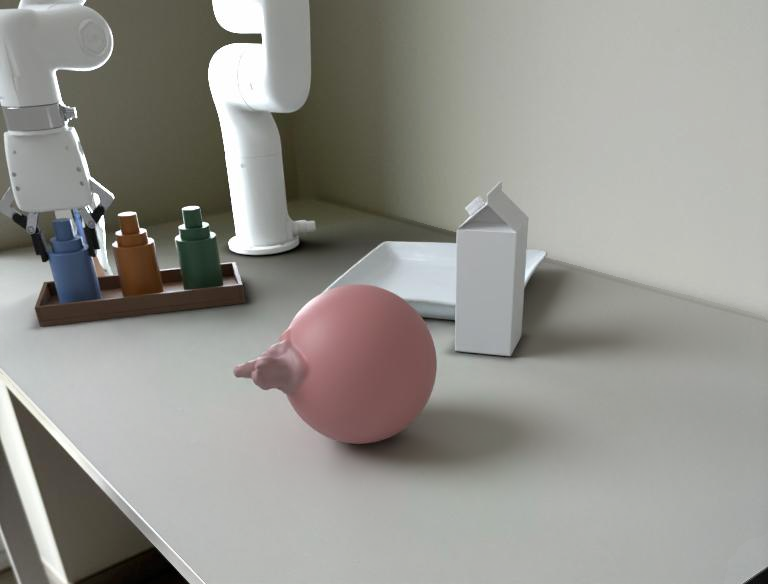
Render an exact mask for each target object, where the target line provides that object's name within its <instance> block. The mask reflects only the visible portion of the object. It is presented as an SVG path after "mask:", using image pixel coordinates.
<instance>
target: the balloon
mask: <svg viewBox="0 0 768 584" xmlns="http://www.w3.org/2000/svg"><path fill="white" fill-rule="evenodd" d="M321 293H322V292H321ZM321 293H319V294H318V295H316V296H314V297H313V298H312V299H311V300H309V301H308V302H307V303H306V304H305V305H304V306H303V307H302V308H301V309H300V310H299V311H298V312H297V314H295V316H294V317H293V319H292V320H291V322H290V324H288V325H289V326H288V327H287V329H286V330H284V332H282V334H281V336H280V338H279V341H278V342H277V343H274V344H273V345H271V346H270V347H269V348H268V349H267V350H265V351H263V352H262V353H261V354H260V355H259V356H258V357H257V358H255V359H252V360H250V361H249V360H248V361H246V362H244V363H242V364H238V365H235V367H234V368H233V370H232V373H233V375H234V376H235V377H236V378H243V379H250V380H252V382H253V384H254V385H255V386H257V387H258V388H260V389H261V390H264V391H269V390H272V389H274V390H275V389H276V390H279V391H281V392H282V393H283V394H284V395H286V398H287V400H288V402H289V404H290V405H291V407H292V409H293V411H295V413H296V414H297V416H298V417H299V418H300V419H301V420H302V421H303V422H304V423H305V424H306V425H307V426H308V427H310V428H311V429H313V430H314V431H315V432H317V433H318V434H320V435H322V436H324V437H326V438H328V439H330V440H333V441H337V442H341V443H344V444H345V443H346V444H356V445H363V444H365V445H366V444H373V443H377V442H381V441H384V440H387V439H389V438H391V437H393V436H396V435H397V434H399V433H400V432H402V431H403V430H405V429H406V428H407V427H409V426H410V425H411V424H412V423H413V422H414V421H415V420H416V419H417V418H418V417H419V415H420V414H421V413H422V412H423V410H424V409H425V407H426V405H427V404H428V403H429V400H430V398H431V395H432V394H433V390H434V387H435V382H436V377H437V366H438V363H437V362H438V361H437V352H436V351H437V350H436V346H435V343H434V340H433V336H432V334H431V331H430V329H429V327H428V325H427V323H426V321H425V320H424V319H423V317H421V316H420V315H419V313H418V312H417V311H416V310H415V309H414V308H413V307H412V306H411V305H410V304H409V303H408V302H406V301H405V300H404V299H402V298H401V297H399V296H398V295H396V294H394V293H392V292H390V291H388V290H385V289H383V288H379V287H376V286H371V285H361V284H354V285H345V286H340V287H336V288H333V289H330V290H328V291H326V292H324V293H322V294H321Z"/></svg>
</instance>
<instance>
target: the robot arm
mask: <svg viewBox="0 0 768 584" xmlns="http://www.w3.org/2000/svg"><path fill="white" fill-rule="evenodd" d="M86 1H87V0H20V1H19V4H18V6H17V8H0V106H1V111H2V114H3V117H4V121H5V125H6V128H7V129H6V130H7V131H5V132H4V133H3V144H4V153H5V159H6V164H7V170H8V175H9V181H10V186H9V188H8V189H7V190H6V192H5V194H4V195H3V196H2V198H1V200H0V213H2V214H3V215H4V216H6V217H7V218H9V219H11V220H12V222H14V223H15V224H16V225H18V226H20V227H21V228H23V230H25V231H26V232H27V233H28V234H30V237H31V240H32V244H33V249H34V253H35V255H36V256H40V259H41V262H42V263H47V262H49V260H48V256H47V250H48V249H49V247H48V244H47V240H46V236H45V233H44V230H43V229H42V228H41V226H40V224H39V220H40V219H39V218H40V214H41V213H46V212H54V211H58V210H69V209H77V211H78V212H79V214H80V215H81V217H82V218H83V220H84V221H85V235H86V239H87V243H88V247H89V251H90V256H91V257H96V256H97V249H100V242H99V238H98V234H97V229H96V224H97V223H98V221H99V220H100V219H101V217H102V216H103V217H104V214H105V213H106V211H107V210H108V209H109V208H110V206H111V204H112V203H113V202H114V199H115V196H114V194H113V193H112V192H110V191H109V190H108V189H107V188H105V187H104V186H103V185H101V183H99V182H98V181H96V180H95V179H94V178H93V177H91V174H90V171H89V167H88V163H87V159H86V156H85V153H84V150H83V147H82V143H81V141H80V138H79V136H78V133H77V131H76V129H75V127H74V126H69V125H68V123H69V121H70V120H72V119H77V118H78V115H77V110H76V107H75V106H66V104H64V102H63V100H62V96H61V91H60V87H59V83H58V77H57V74H56V72H57V71H59V70H64V71H65V70H66V71H77V72H79V71H80V72H81V71H82V72H87V71H93V70H95V69H98V68H100V67H102V66H104V64H106V62H108V60H109V59H110V57H111V55H112V52H113V48H114V37H113V34H112V33H113V32H112V29H111V27H110V26H109V23H108V22H107V20H105V18H104V17H103V15H101V14H100V13H99V12H97V11H96V10H95V9H93V8H91V7H89V6H86V5H84V4H85V3H86ZM211 1H212V7H213V13H214V16H215V18H216V21H217V22H218V24H219V25H220V26H221V27H222V28H223V29H225V30H226V31H228V32H231V33H237V34H261V39H262V43H258V42H257V43H254V42H253V43H252V42H251V43H247V42H246V43H245V42H244V43H243V42H242V43H239V42H238V43H231V44H228V45H224V46H223V47H221V48H220V49H218V50H217V51H216V52H215V53H214V54H213V56H212V58H211V60H210V62H209V67H208V83H209V88H210V92H211V95H212V99H213V102H214V104H215V108H216V111H217V114H218V118H219V122H220V128H221V134H222V140H223V146H224V152H225V163H226V168H227V169H226V170H227V176H228V177H227V178H228V184H229V192H230V198H231V206H232V207H231V208H232V213H233V221H234V228H235V236H233V237H231V238H230V239H229V241H228V247H229V250H230V251H231V252H233V253H235V254H241V255H245V256H247V255H248V256H249V255H250V256H265V255H273V254H279V253H283V252H288V251H291V250H293V249H295V248H296V247H298V246H299V244H300V237H299V234H301V233H305V234H308V233H316V231H317V227H316V221H315V220H306V219H301V220H300V219H299V220H293V219H292V218H291V217H290V215H289V212H288V204H287V194H286V193H287V192H286V183H285V173H284V163H283V162H284V161H283V151H282V141H281V136H280V132H279V129H278V126H277V123H276V122H275V121H276V120H275V119H274V117H273V113H279V114H280V113H281V114H290V113H294V112H296V111H299V110H300V109H301V108H302V107H303V106H304V105H305V103H306V102H307V99H308V97H309V94H310V90H311V83H312V82H311V81H312V54H311V53H312V52H311V51H312V49H311V12H310V11H311V10H310V0H211ZM94 193H95V194H96V195H98V197H99V199H100V200H99V201H100V202H99V204H98V205H97V206H96V208H95V209H94V210H93V212H92V211H91V209H90V207H89V205H90V204H91V203H92V198H93V197H94ZM13 202H15V205H16V206H17V208H18V209H19V210H20V211H18V210H17V209H16V208H15V207H14V206H13V205H12V203H13ZM21 211H22V212H21ZM23 212H25V213H27V215H25V214H24V213H23Z"/></svg>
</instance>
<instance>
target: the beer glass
mask: <svg viewBox="0 0 768 584" xmlns="http://www.w3.org/2000/svg"><path fill="white" fill-rule="evenodd" d="M100 201H101V200H100V197H99V196H98V195H96V194H95V193H94V197H93V198H92V203H91V204H90V205H89V207H90V209H91V211H92V212H93V210H94V209H95V208H96V206H97V205H98V204H99V202H100ZM53 212H54V216H55V219H58V218H70V219H71V223H72V227H73V231H74V234H76V235H80V236H82V240H83V244H87V245H88V243H87V239H86V235H85V221H84V220H83V218H82V217H81V215H80V214H79V212H78V211H77V209H69V210H58V211H53ZM96 229H97V234H98V238H99V242H100V249H97V256H96V257H93V261H94V265H95V270H96V274H97V276H106V275H114V274H113V272H112V269H111V266H110V264H109V261H108V256H107V249H106V229H105V218H104V215H103V216H102V217H101V219H100V220H99V221H98V223H97V224H96Z"/></svg>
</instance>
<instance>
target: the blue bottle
mask: <svg viewBox="0 0 768 584" xmlns="http://www.w3.org/2000/svg"><path fill="white" fill-rule="evenodd" d="M51 225H52V229H53V233H54V237H53V236H52V238H50V239H49V244H50V248H48V250H47V256H48V263H49V268H50V271H51V275H52V278H53V281H54V282H55V286H56V290H57V294H58V297H59V301H60V304H62V303H71V302H80V301H89V300H98V299H102V295H101V291H100V286H99V282H98V278H97V274H96V270H95V265H94V261H93V257H91V256H90V251H89V247H88V245H87V244H83V240H82V236H80V235H76V234H74V231H73V227H72V223H71V219H70V218H58V219H56V218H55V219H52V220H51Z"/></svg>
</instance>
